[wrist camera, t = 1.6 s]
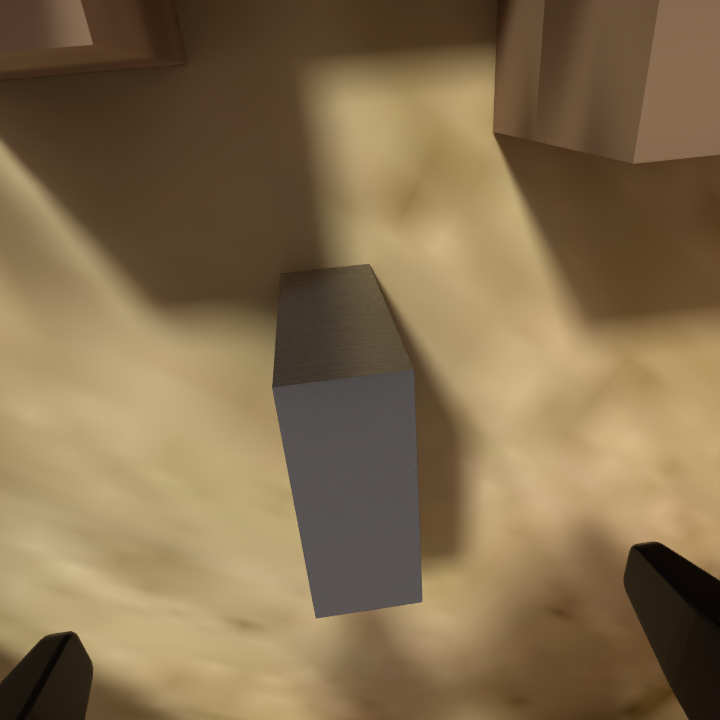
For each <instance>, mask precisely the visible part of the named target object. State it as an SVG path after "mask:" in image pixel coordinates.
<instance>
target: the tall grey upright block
mask: <svg viewBox="0 0 720 720" xmlns="http://www.w3.org/2000/svg"><path fill="white" fill-rule="evenodd" d="M272 389H273V394H274V400H275V405H276V410H277V416H278V421H279V426H280V431H281V437H282V442H283V447H284V453H285V458H286V463H287V468H288V474H289V479H290V484H291V490H292V495H293V500H294V505H295V511H296V516H297V521H298V527H299V532H300V537H301V543H302V548H303V553H304V558H305V564H306V569H307V574H308V580H309V585H310V590H311V595H312V601H313V606H314V611H315V617H316V618H322V617H329V616H335V615H342V614H348V613H355V612H361V611H368V610H374V609H381V608H387V607H393V606H400V605H406V604H413V603H419V602H422V577H421V549H420V522H419V494H418V467H417V439H416V412H415V384H414V368H413V366H412V364H411V361H410V359H409V357H408V354H407V352H406V350H405V347H404V345H403V342H402V340H401V338H400V335H399V333H398V331H397V328H396V326H395V324H394V321H393V319H392V317H391V314H390V312H389V309H388V307H387V305H386V302H385V300H384V298H383V295H382V293H381V291H380V288H379V286H378V283H377V281H376V279H375V276H374V274H373V272H372V269H371V267H370V265H369V264H364V265H355V266H346V267H337V268H329V269H320V270H311V271H302V272H293V273H285V274H281V275H280V289H279V302H278V316H277V329H276V343H275V356H274V370H273V384H272Z"/></svg>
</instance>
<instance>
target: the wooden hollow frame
mask: <svg viewBox="0 0 720 720" xmlns="http://www.w3.org/2000/svg"><path fill="white" fill-rule="evenodd" d="M182 64H186V59H185V54H184V50H183V45H182V40H181V35H180V30H179V26H178V21H177V16H176V11H175V6H174V2H173V0H0V81H1V80H12V79H24V78H35V77H46V76H58V75H69V74H80V73H91V72H103V71H114V70H125V69H137V68H148V67H159V66H171V65H182ZM493 132H496V133H500V134H505V135H509V136H513V137H518V138H522V139H527V140H531V141H535V142H540V143H544V144H549V145H553V146H557V147H562V148H566V149H570V150H575V151H579V152H584V153H588V154H592V155H597V156H601V157H606V158H610V159H614V160H619V161H623V162H627V163H632V164H636V163H646V162H655V161H665V160H674V159H684V158H693V157H703V156H712V155H720V0H498V18H497V44H496V71H495V97H494V124H493Z"/></svg>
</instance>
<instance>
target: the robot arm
mask: <svg viewBox="0 0 720 720" xmlns="http://www.w3.org/2000/svg"><path fill="white" fill-rule="evenodd" d="M624 587H625V590H626V593H627V595H628V597H629V599H630V602H631V604H632V606H633V608H634V610H635V612H636V614H637V617H638V619H639V621H640V623H641V625H642V627H643V630H644V632H645V634H646V636H647V638H648V640H649V643H650V645H651V647H652V649H653V651H654V653H655V656H656V658H657V660H658V662H659V664H660V666H661V669H662V671H663V673H664V675H665V677H666V679H667V681H668V683H669V685H670V687H671V689H672V691H673V692H674V694H675V696H676V698H677V700H678V702H679V703H680V705H681V707H682V709H683V710H684V712H685V714H686V715H687V717H688V719H689V720H720V580H718V579H717V578H715V577H714V576H712V575H711V574H709V573H707V572H706V571H704V570H703V569H701V568H700V567H698V566H696V565H695V564H693V563H692V562H690V561H688V560H687V559H685V558H684V557H682V556H681V555H679V554H677V553H676V552H674V551H673V550H671V549H670V548H668V547H666V546H665V545H663V544H661V543H659V542H646V543H639V544H635V545H633V546H632V547H631V548H630V551H629V555H628V560H627V564H626V568H625V572H624ZM92 678H93V665H92V662H91V659H90V657H89V655H88V654H87V652H86V650H85V648H84V646H83V644H82V642H81V641H80V639H79V637H78V635H77V634H76V633H74V632H72V631H68V632H61V633H55V634H50V635H47V636H45V637H44V638H42V639H41V640H40V641H39V642H38V643H37V644H36V645H35V646H34V647H33V648H32V650H31V651H30V652H29V653H28V654H27V655H26V656H25V657H24V658H23V659H22V660H21V661H20V663H19V664H18V665H17V666H16V667H15V668H14V669H13V670H12V671H11V672H10V673H9V674H8V676H7V677H6V678H5V679H4V680H3V681H2V682H1V683H0V720H85V717H86V711H87V706H88V701H89V695H90V690H91V684H92Z"/></svg>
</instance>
